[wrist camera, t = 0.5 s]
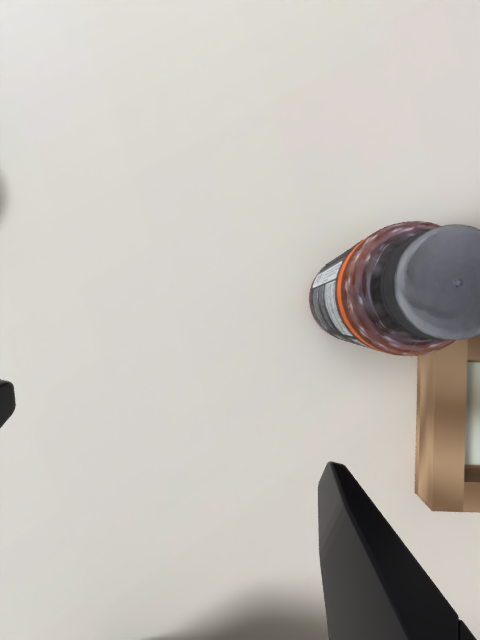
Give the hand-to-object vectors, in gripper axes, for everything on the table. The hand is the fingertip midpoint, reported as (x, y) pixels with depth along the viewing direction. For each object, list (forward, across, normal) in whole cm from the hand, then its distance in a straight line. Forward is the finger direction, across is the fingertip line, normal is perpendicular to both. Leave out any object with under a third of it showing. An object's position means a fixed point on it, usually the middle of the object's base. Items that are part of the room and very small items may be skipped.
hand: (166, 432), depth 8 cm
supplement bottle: (+15, -8, -1) cm, 17 cm away
